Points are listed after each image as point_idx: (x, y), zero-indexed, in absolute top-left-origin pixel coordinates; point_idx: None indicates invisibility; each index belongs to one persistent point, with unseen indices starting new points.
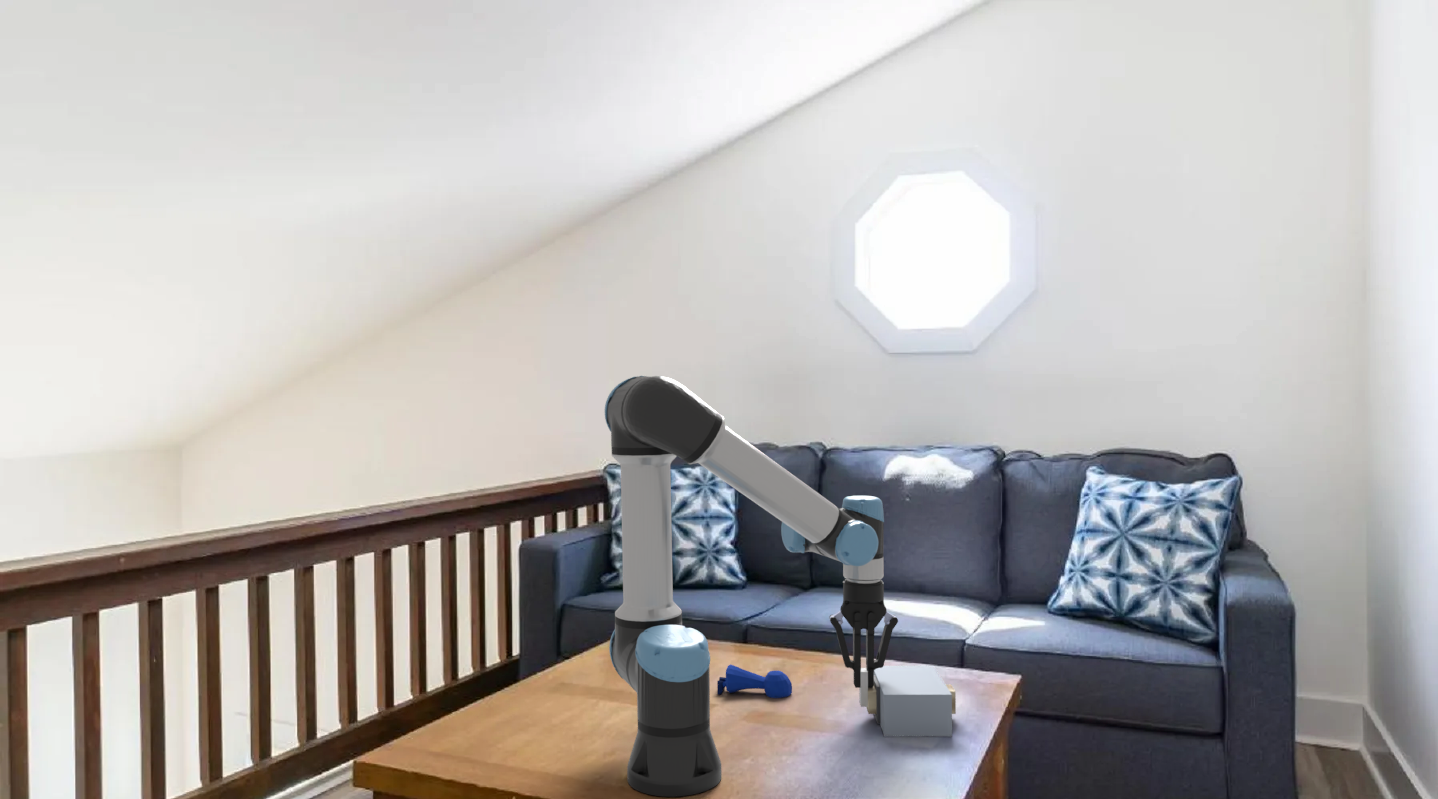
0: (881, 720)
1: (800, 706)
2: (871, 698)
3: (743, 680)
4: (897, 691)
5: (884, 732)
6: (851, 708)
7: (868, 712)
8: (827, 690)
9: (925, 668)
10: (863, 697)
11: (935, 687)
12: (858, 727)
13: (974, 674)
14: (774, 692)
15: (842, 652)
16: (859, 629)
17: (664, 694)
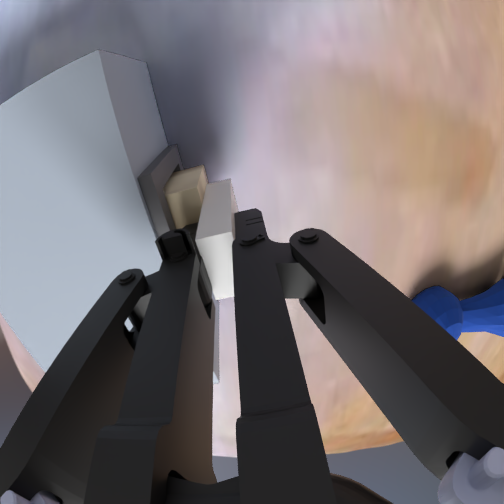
0: (156, 125)
1: (392, 249)
2: (188, 182)
3: (493, 299)
4: (52, 117)
5: (142, 61)
6: None
7: (204, 169)
8: (328, 353)
9: None
10: (220, 191)
11: None
12: (231, 116)
13: None
14: (441, 291)
15: (368, 270)
16: (256, 467)
17: None
